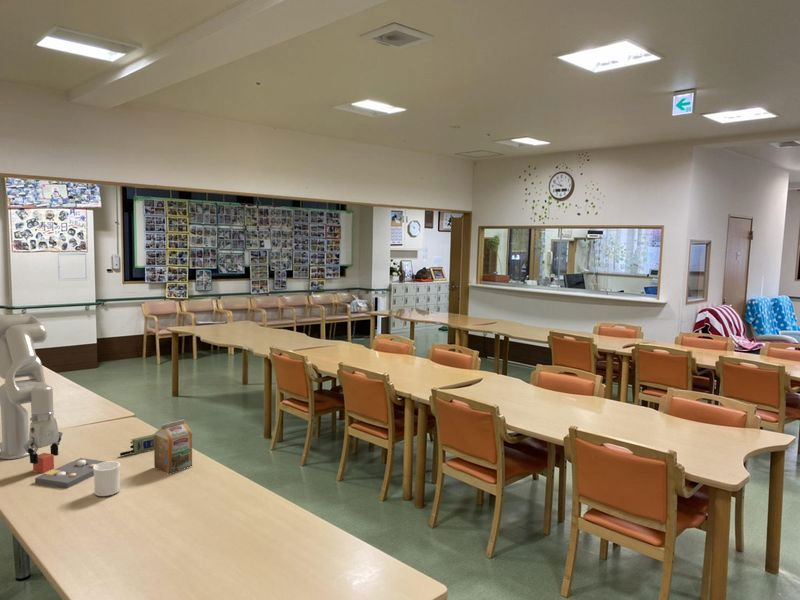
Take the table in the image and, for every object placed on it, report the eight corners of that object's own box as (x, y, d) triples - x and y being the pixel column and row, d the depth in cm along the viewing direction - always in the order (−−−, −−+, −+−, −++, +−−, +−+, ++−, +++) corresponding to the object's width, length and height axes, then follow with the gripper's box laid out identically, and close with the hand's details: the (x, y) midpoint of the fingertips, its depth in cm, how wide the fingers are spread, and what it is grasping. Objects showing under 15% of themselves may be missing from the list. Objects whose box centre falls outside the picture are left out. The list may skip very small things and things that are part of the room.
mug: (109, 499, 206) (109, 471, 206) (87, 496, 208) (87, 469, 207) (129, 487, 217) (129, 460, 216) (108, 484, 219) (108, 458, 218)
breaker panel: (35, 482, 218) (35, 476, 218) (80, 462, 240) (80, 456, 239) (67, 488, 215) (67, 481, 215) (111, 467, 236) (111, 460, 236)
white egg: (74, 466, 231) (74, 462, 231) (81, 464, 234) (81, 459, 234) (81, 467, 230) (81, 463, 230) (87, 465, 233) (87, 460, 233)
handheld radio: (177, 444, 265) (122, 458, 246) (173, 443, 268) (118, 456, 248) (176, 430, 265) (121, 442, 246) (173, 428, 267) (118, 441, 248)
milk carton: (168, 474, 231) (168, 427, 229) (154, 467, 237) (154, 422, 235) (192, 466, 239) (192, 422, 237) (177, 460, 245) (177, 416, 244)
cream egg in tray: (54, 479, 222) (54, 474, 221) (61, 475, 225) (61, 471, 224) (61, 480, 221) (61, 475, 221) (67, 477, 224) (67, 472, 224)
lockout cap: (33, 471, 229) (32, 457, 229) (43, 467, 234) (43, 452, 233) (43, 473, 228) (43, 458, 227) (54, 468, 233) (53, 454, 232)
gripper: (31, 423, 220) (33, 467, 221) (68, 412, 236) (69, 453, 237) (15, 422, 221) (17, 465, 223) (53, 411, 238) (54, 451, 239)
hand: (44, 459), depth 230 cm, fingers open, 9 cm apart
